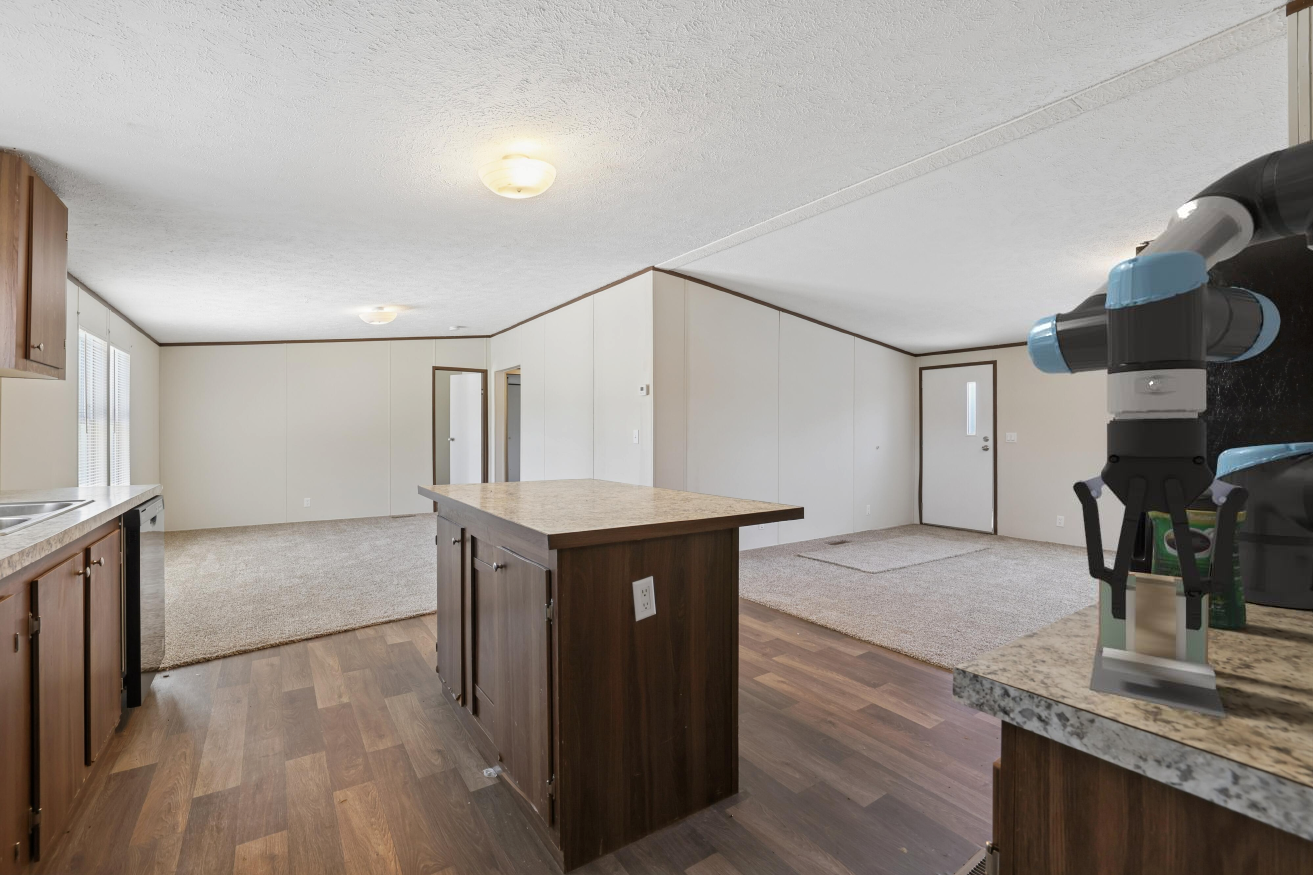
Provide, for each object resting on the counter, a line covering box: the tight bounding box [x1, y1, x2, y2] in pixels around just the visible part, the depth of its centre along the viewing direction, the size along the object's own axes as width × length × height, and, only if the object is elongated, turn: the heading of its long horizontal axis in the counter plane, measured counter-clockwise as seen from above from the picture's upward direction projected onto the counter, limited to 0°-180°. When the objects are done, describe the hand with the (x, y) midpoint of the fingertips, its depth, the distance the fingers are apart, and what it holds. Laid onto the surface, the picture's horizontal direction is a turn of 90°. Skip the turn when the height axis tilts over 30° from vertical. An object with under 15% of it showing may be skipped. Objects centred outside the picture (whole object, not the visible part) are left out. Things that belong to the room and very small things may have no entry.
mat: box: [1088, 634, 1228, 719], centre depth 64 cm, size 10×24×1 cm, turn 142°
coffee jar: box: [1147, 484, 1247, 631], centre depth 80 cm, size 10×8×19 cm
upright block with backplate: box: [1102, 572, 1217, 690], centre depth 59 cm, size 8×8×8 cm
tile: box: [1098, 571, 1209, 665], centre depth 65 cm, size 9×1×9 cm, turn 52°
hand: (1154, 656), depth 60 cm, fingers closed on upright block with backplate, 3 cm apart
